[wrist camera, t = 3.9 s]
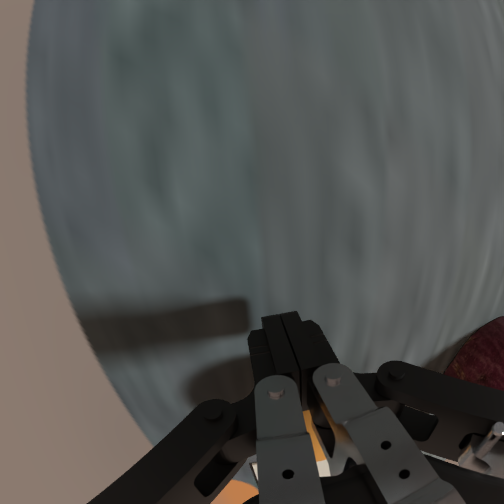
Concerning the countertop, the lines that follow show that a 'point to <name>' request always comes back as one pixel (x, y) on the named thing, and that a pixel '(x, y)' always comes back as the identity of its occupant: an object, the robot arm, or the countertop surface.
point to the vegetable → (482, 357)
